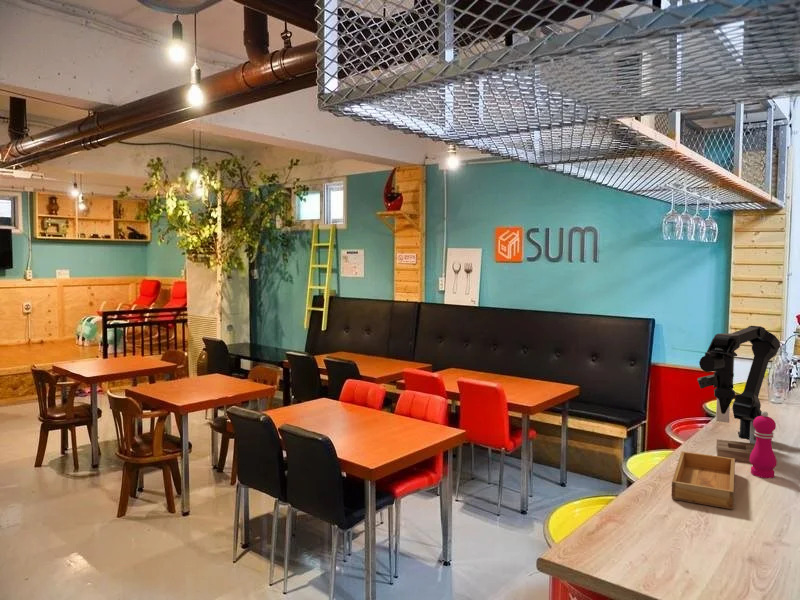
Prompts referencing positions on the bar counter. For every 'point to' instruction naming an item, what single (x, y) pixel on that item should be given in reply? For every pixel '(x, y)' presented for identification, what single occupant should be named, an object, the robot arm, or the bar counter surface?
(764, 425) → the pepper mill
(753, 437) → the round bit
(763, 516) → the bar counter surface
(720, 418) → the square bit
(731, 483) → the tray
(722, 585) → the bar counter surface
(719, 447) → the bore block
